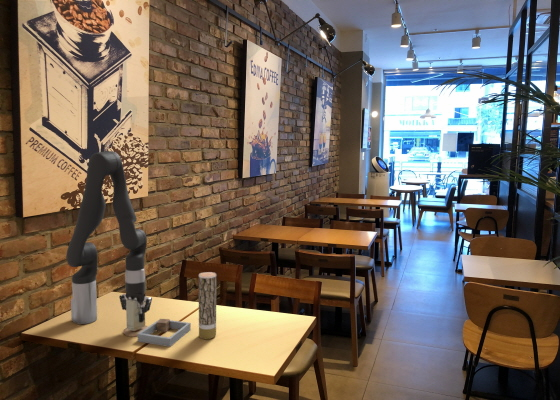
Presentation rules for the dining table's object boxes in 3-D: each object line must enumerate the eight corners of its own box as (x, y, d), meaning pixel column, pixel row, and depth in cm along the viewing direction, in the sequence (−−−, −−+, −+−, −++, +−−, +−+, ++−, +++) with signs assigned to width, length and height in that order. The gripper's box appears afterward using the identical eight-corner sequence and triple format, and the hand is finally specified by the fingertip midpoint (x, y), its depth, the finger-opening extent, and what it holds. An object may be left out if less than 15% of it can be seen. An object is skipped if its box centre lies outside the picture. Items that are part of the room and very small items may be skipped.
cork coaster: (117, 334, 175) (117, 333, 175) (133, 325, 185) (133, 323, 185) (140, 337, 172) (139, 336, 172) (154, 328, 182) (154, 326, 182)
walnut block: (156, 332, 178) (156, 322, 178) (160, 328, 182) (160, 318, 182) (166, 332, 178) (166, 323, 178) (169, 328, 182) (169, 319, 182)
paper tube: (201, 340, 171) (201, 277, 168) (196, 334, 177) (196, 273, 174) (218, 337, 174) (218, 275, 171) (212, 331, 180) (213, 271, 177)
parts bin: (137, 341, 169) (137, 333, 169) (160, 325, 184) (160, 318, 184) (170, 346, 165) (170, 338, 165) (190, 330, 181) (190, 323, 180)
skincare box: (134, 331, 175) (134, 301, 173) (126, 329, 176) (125, 299, 175) (145, 325, 180) (145, 297, 179) (137, 323, 182) (136, 295, 181)
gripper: (113, 280, 174) (114, 322, 176) (145, 284, 170) (146, 326, 173) (125, 275, 182) (126, 315, 184) (156, 278, 178) (156, 319, 180)
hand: (136, 320), depth 178 cm, fingers closed on skincare box, 4 cm apart
